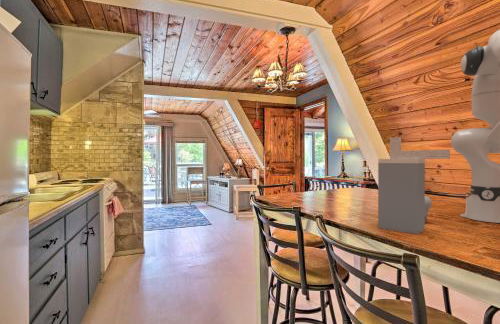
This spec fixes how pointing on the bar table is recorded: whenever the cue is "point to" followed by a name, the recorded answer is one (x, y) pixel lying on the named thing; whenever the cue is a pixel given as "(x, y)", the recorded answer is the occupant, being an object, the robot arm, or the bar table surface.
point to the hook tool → (415, 152)
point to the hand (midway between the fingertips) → (491, 142)
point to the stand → (401, 195)
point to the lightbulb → (427, 206)
